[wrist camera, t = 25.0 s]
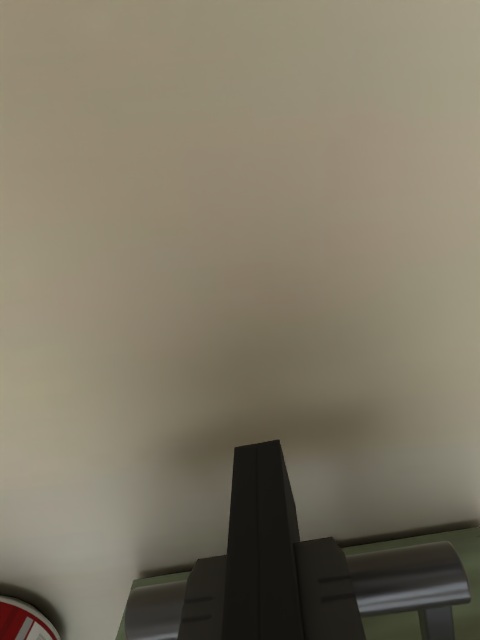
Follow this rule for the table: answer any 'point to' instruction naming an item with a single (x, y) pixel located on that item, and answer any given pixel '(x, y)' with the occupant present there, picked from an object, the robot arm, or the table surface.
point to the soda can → (23, 621)
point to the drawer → (360, 591)
